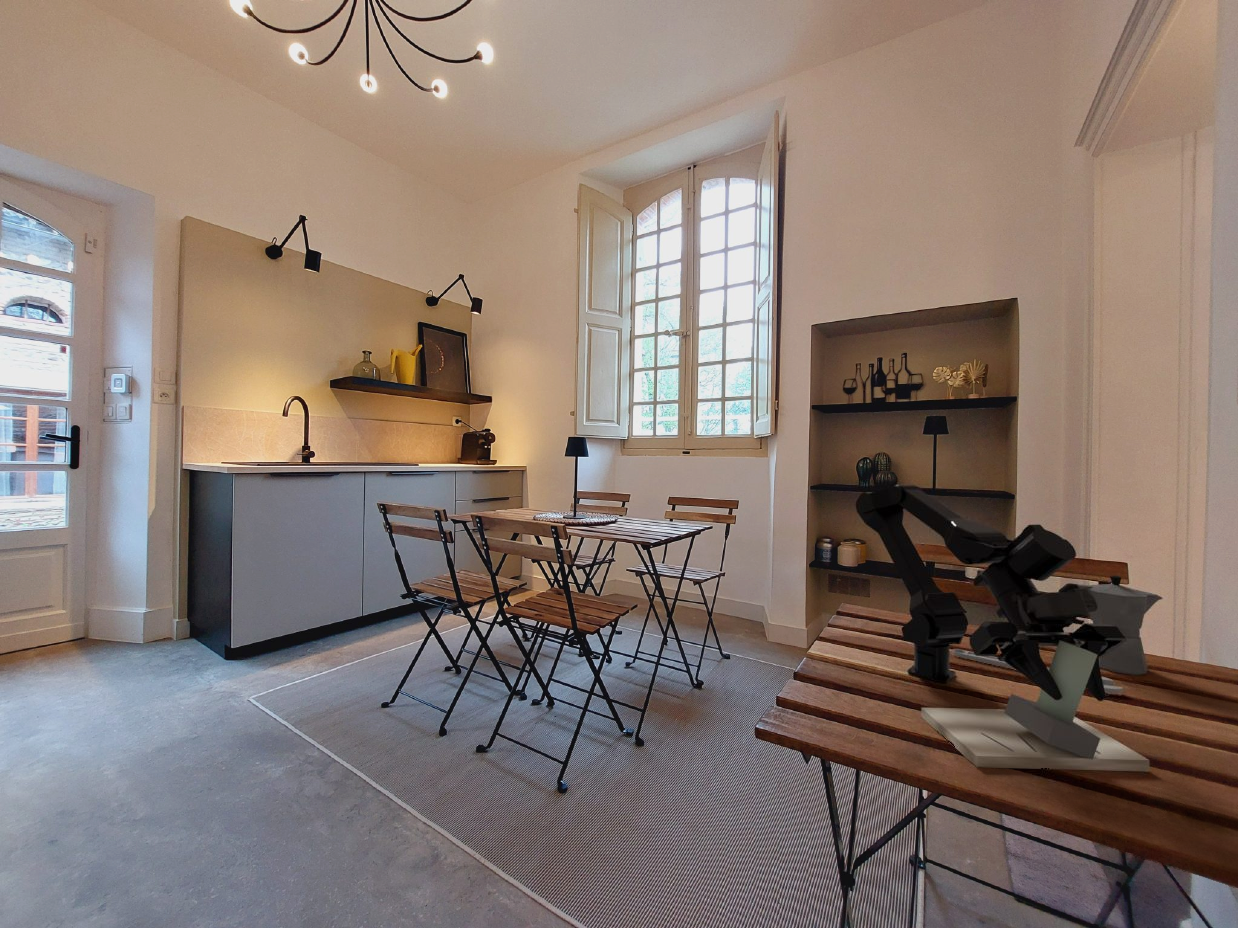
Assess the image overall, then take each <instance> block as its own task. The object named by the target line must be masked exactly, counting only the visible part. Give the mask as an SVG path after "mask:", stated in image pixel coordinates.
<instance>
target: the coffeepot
mask: <svg viewBox="0 0 1238 928" xmlns="http://www.w3.org/2000/svg"><path fill="white" fill-rule="evenodd" d="M1110 580H1111V581H1110V582H1111V583H1108V584H1106V583H1105V584H1102V583H1101V584H1078V583H1073V582H1071V583H1069V582H1068V583H1066V584H1064V585H1063V586H1062V587H1061V588H1059V589H1058V592H1066V591H1068V590H1073V589H1087V591H1088V592H1089V593H1090V594H1091V595H1092V596H1093V597H1094V599H1095V601H1096V603H1097V606H1098V608H1097V610H1096V611H1093V612H1089V614H1090V616H1089V619H1090V621H1092V623H1096V624H1111V625H1114V626H1117V627H1118V629H1119V630H1120V632H1121V633H1122V634H1123V636H1124V637H1125V638H1126V640H1127V641H1125V642H1124V643H1123V644H1121V645H1120V646H1118V647H1117V648H1115V649H1114V650H1113V651H1111V652H1110V653H1108V654H1107V655H1105V656H1104V657H1101V658H1099V666H1100V669H1103V670H1106V671H1109V672H1114V673H1118V674H1125V675H1130V676H1131V675H1134V676H1142V675H1146V674H1147V671H1148V665H1147V661H1146V654H1145V652H1144V646H1143V642H1142V638H1141V633H1140V631H1141V630H1140V629H1141V628H1143V627H1142V626H1143V622H1144V617H1145V615H1146V613H1147V612H1148V611H1149V610H1150V609H1151V608H1152V607H1153V606H1154V605H1155V604H1156V603H1157V602H1158V601H1160V600H1163V597H1162V596H1161V595H1158V594H1155V593H1151V592H1147V591H1143V590H1139V589H1134V588H1131V587H1128V586H1124V585H1120V584H1121V580H1122V576H1119V575H1110ZM1070 620H1071V621H1072V622H1073V625H1074V624H1075V625H1080V626H1082V625H1083V624H1084V623H1085V620H1081V619H1078V617H1077V618H1072V619H1070Z"/></svg>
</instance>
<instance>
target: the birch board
mask: <svg viewBox="0 0 1238 928" xmlns="http://www.w3.org/2000/svg"><path fill="white" fill-rule="evenodd" d="M1005 709H1006V708H1005ZM1005 709H1003V708H1001V709H999V708H998V709H997V708H996V709H994V708H954V707H953V708H952V707H951V708H950V707H946V708H945V707H921V711H920V712H921V718H922V719H923V721H925V723H927V724H928V725H930V727H932V729H934V730H935V731H936V732H937V731H938V732H939V733H938V732H937V733H938V734H939V735H941V734H942V735H943V736H944V737H946V738H947V739H948V740H950V741H951V742H952V743H953V744H954V746H955V747H954V746H953V747H954V748H955V749H956V750H957V751H959V753H961V754H962V756H964V757H965V758H966V759H967V760H969V761H970V762H971V763H972V764H973V765H974V766H975V767H976V768H995V769H996V768H997V769H998V768H1000V769H1032V770H1033V769H1034V770H1035V769H1036V770H1037V769H1038V770H1041V768H1043V769H1042V770H1045V769H1044V768H1047V769H1046V770H1074V771H1076V770H1077V771H1079V770H1080V771H1108V772H1109V771H1113V772H1146V773H1147V772H1150V759H1148V758H1146V757H1145V756H1144V755H1141V754H1140V753H1138V752H1136V751H1135V750H1133V749H1131V748H1129V747H1128V746H1126V745H1124V744H1122V743H1121V742H1119V741H1117V740H1116V739H1114V738H1112V737H1110V736H1109V735H1107V734H1106V733H1103V732H1102V731H1101V730H1099V729H1096V728H1095V727H1093V726H1091V725H1090V724H1088V723H1087V722H1085V721H1083V720H1081V719H1080V718H1078V717H1076V716H1075V717H1074V719H1073V722H1075V723H1076V724H1078V725H1080V726H1081V727H1083V728H1084V729H1086V730H1088V731H1089V732H1091V733H1093V734H1094V735H1096V736H1097V737H1099V738H1101V739H1100V741H1099V744H1098V747H1097V749H1096V752H1095V755H1094V757H1093V760H1092V759H1089V758H1086V757H1084V756H1081V755H1078V754H1075V753H1073V752H1070V751H1067V750H1064V749H1061V748H1059V747H1056V746H1053V745H1050V744H1048V743H1046V742H1044V741H1043V740H1042V739H1040V738H1039V737H1037V736H1036V735H1035V734H1033V733H1032V732H1030V731H1029V730H1028V729H1026V728H1025V727H1023V726H1022V725H1021V724H1019V723H1018V722H1016V721H1015V720H1014V719H1012V718H1011V717H1009V716H1008V715H1007V714H1005V713H1004V712H1005ZM942 735H941V736H942ZM943 736H942V737H943ZM944 737H943V738H944ZM1048 768H1049V769H1048Z"/></svg>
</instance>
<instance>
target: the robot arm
mask: <svg viewBox="0 0 1238 928" xmlns="http://www.w3.org/2000/svg"><path fill="white" fill-rule="evenodd" d="M855 510H856V513H857V514H858V515H859V517H860V519H862V521H863V523H864V524H865V526H867V527H869V528H871V530H873V531H874V532H876V533H877V534H878V536H879V538H880V539H881V541H882V543H883V544H884V547H885V549H886V551H887V553H888V556H889V557H890V559H891V561H892V562H893V564H894V566H895V568H896V570H897V572H898V574H899V576H900V578H901V580H902V581H903V584H904V586H905V589H906V590H907V591H908V593H909V596H910V601H909V602H910V603H909V614H910V616H911V619H910V620H909V621H908V622H907V623H905V624H904V625H902V627H901V632H902V637H903V639H904V641H907V642H909V643H911V644H913V645H914V646H913V650H914V651H913V665H912V666H911V667H909V668H908V669H907V673H908V674H910V675H914V676H917V675H918V677H920V676H922V677H921V678H923V677H924V679H927V678H928V680H930V679H933V680H932V681H934V680H935V682H937V681H939V682H938V683H941V682H943V683H942V684H947V683H948V682H950V681H951V680H952V679H953V678H954V677H955V676H956V674H957V672H956V671H955V670H952V669H950V645H961V643H962V640H963V638H964V635H965V634H966V632H967V629H968V625H969V620H968V618H967V615H966V614H967V613H968V612H967V610H966V609H965V608H964V607H963V606H962V604H961V602H960V600H959V597H958V596H957V595H956V593H955V592H953V591H952V592H949V591H948V592H945V591H943V590H941V589H940V587H938V586H937V584H936V583H935V580H934V578H933V576H932V575H931V573H930V571H929V570H928V568H927V566H926V564H925V562H924V561H923V559H922V558H921V555H920V553H919V552H918V550H917V548H916V547H915V545H914V542H912V539H911V538H910V535H909V534H908V532H907V530H906V528H905V527H904V523H903V522H904V515H905V512H904V510H905V511H906V512H908V513H909V514H911V515H912V516H913V517H915V518H916V519H917V520H919V521H920V522H921V523H922V524H924V525H926V526H927V527H928V528H930V529H931V530H933V532H935V533H936V534H938V535H939V536H940V537H941V538H942V540H943V541H944V545H945V547H946V549H947V550H949V552H950V553H951V554H952V555H953V556H954V557H955V558H956V559H957V560H958V561H959V562H960V563H962V564H965V565H967V566H969V565H971V566H972V565H974V566H975V565H988V566H987V567H985V568H984V569H983V570H982V569H981V570H980V569H978V570H976V572H977V573H976V576H975V577H974V579H973V586H974V587H982V588H988V589H989V591H990V592H991V595H992V597H993V598H994V600H995V601H996V603H997V605H998V606H999V609H997V610H996V614H997V616H998V618H1000V619H1006V620H1007V621H984V622H983V623H982V624H981V625H980V626H978V628H977V629H976V630H975V631H974V632H973V633H972V634H971V635H970V637H969V640H968V641H969V646H970V648H971V650H972V652H974V654H975V655H976V656H993V657H996V655H997V653H998V652H999V650H1000V652H1001V653H1000V654H998V656H997V658H998V660H999V661H1003V662H1006V663H1007V664H1009V665H1010V666H1012V667H1013V668H1014V669H1016V670H1017V671H1016V672H1018V673H1020V674H1022V675H1023V676H1025V678H1027V679H1028V680H1029V681H1031V682H1032V683H1033V684H1034V685H1035V686H1037V687H1039V688H1040V690H1041V689H1042V690H1043V691H1045V692H1046V693H1047V694H1048V695H1050V696H1051V697H1052V698H1053V699H1055V700H1060V699H1061V698H1062V695H1061V693H1060V690H1059V688H1058V686H1057V684H1056V682H1055V681H1054V679H1053V677H1052V676H1051V674H1050V672H1049V670H1048V669H1047V668H1048V667H1047V665H1046V664H1045V662H1044V661H1043V658H1042V657H1041V653H1040V647H1057V646H1058V643H1059V641H1064V642H1067V643H1069V644H1072V645H1075V646H1077V647H1080V648H1083V649H1085V650H1088V651H1090V652H1092V653H1095V654H1097V658H1096V660H1095V663H1094V666H1093V668H1092V671H1091V674H1090V676H1089V679H1088V682H1087V684H1086V689H1087V690H1086V689H1085V690H1086V691H1088V693H1090V694H1091V695H1092V696H1093V697H1094V699H1096V700H1097V701H1098V702H1103V701H1106V699H1107V695H1106V694H1105V690H1104V685H1103V681H1102V677H1103V676H1102V673H1101V668H1100V666H1099V658H1101V657H1104V656H1105V655H1107V654H1108V653H1110V652H1111V651H1113V650H1114V649H1115V648H1117V647H1118V646H1120V645H1121V644H1123V643H1124V642H1125V641H1127V640H1126V638H1125V637H1124V636H1123V634H1122V633H1121V632H1120V630H1119V629H1118V627H1117V626H1114V625H1111V624H1096V623H1093V622H1091V623H1087V622H1084V623H1083V624H1082V625H1080V626H1079V627H1078V628H1077V629H1076V630H1074V631H1073V632H1068V631H1065V630H1064V628H1069V627H1071V625H1074V623H1073V622H1072V621H1071V620H1070V619H1072V618H1077V619H1078V618H1080V617H1081V618H1082V617H1083V618H1090V614H1089V612H1093V611H1096V610H1097V608H1098V606H1097V603H1096V601H1095V599H1094V597H1093V596H1092V595H1091V594H1090V593H1089V592H1088V591H1087V589H1073V590H1068V591H1066V592H1057V591H1056V592H1055V591H1054V592H1051V591H1050V592H1046V593H1045V592H1039V589H1038V588H1037V587H1036V586H1035V584H1034V582H1033V581H1032V580H1035V581H1041V582H1043V581H1046V580H1048V579H1049V578H1050V577H1052V576H1053V575H1054V574H1055V573H1056V572H1058V571H1059V570H1061V569H1062V568H1064V567H1065V566H1066V565H1067V564H1069V563H1070V562H1072V561H1073V560H1074V559H1075V558H1076V556H1077V552H1076V550H1075V547H1074V546H1073V545H1072V544H1071V542H1070V541H1068V540H1067V539H1064V538H1063V537H1062V536H1060V535H1058V534H1056V533H1055V532H1053V531H1051V530H1048V529H1045V528H1044V527H1043V526H1042V525H1041V524H1039V523H1038V524H1036V523H1035V524H1028V525H1027V526H1025V527H1024V529H1022V531H1021V533H1019V535H1018V536H1016V537H1015V538H1014V539H1011V538H1007V536H1006V535H1005V534H1004V533H1002V532H1001V531H999V530H996V529H994V528H992V527H990V526H988V525H985V524H982V523H978V522H975V521H971V520H968V519H967V518H966V519H965V518H964V517H962V516H961V515H959V514H958V513H956V512H954V511H953V510H951V509H950V508H948V507H947V506H945V505H943V504H942V503H941V502H939V501H938V500H936V499H935V498H933V497H932V496H930V495H928V494H927V493H926V492H924V491H923V490H922V489H921V488H920V486H917V485H915V484H895V485H894V486H891V487H889V488H886V489H882V490H881V489H880V490H877V491H872V492H869V491H868V492H866V491H865V492H862V493H861V494H860V495H859V496H858V497H857V499H856V501H855ZM950 679H951V680H950Z"/></svg>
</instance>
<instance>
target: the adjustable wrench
mask: <svg viewBox="0 0 1238 928" xmlns="http://www.w3.org/2000/svg"><path fill="white" fill-rule="evenodd" d="M953 655H955V656H959V657H962V658H967V659H973V660H975V661H980V662H986V663H989V664H993V665H999V666H1002V667H1008V668H1013V667H1012V666H1010V665H1009V664H1007V663H1006V662H1003V661H999V660H998V658H997V657H998V656H997V657H996V656H976V655H975V654H974V652H973V651H969V650H964V649H960V648H953V649H952V656H953ZM955 656H954V657H955ZM962 658H961V659H962ZM975 661H974V662H975ZM993 665H992V666H993ZM1049 668H1050V667H1049ZM1049 668H1048V667H1047V669H1048V670H1049ZM1013 669H1014V668H1013ZM1102 681H1103V685H1104V690H1105V693H1108V694H1111V693H1112V694H1115V693H1116V694H1118V693H1123V692H1124V691H1123V689H1124V688H1123V687H1122V686H1116V685H1115V686H1114V680H1113V679H1110V678H1108V677H1105V676H1102ZM1123 694H1124V693H1123Z"/></svg>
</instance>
